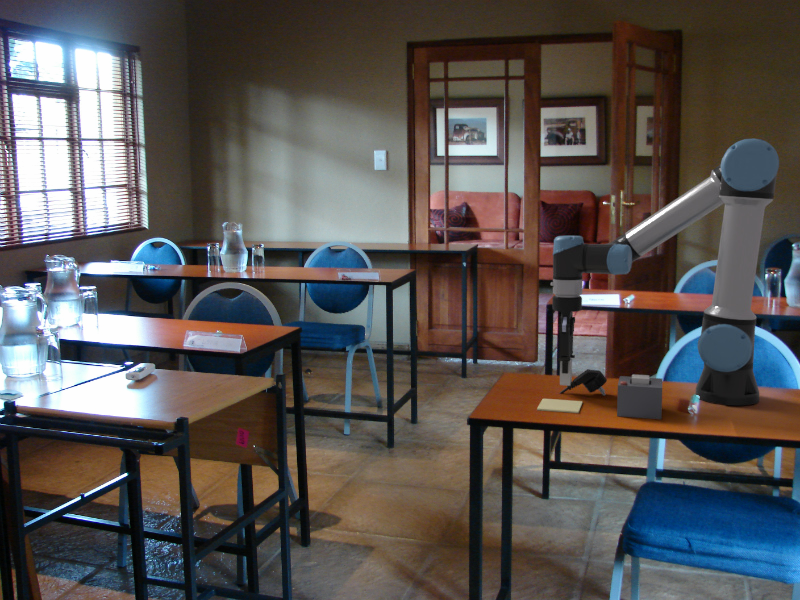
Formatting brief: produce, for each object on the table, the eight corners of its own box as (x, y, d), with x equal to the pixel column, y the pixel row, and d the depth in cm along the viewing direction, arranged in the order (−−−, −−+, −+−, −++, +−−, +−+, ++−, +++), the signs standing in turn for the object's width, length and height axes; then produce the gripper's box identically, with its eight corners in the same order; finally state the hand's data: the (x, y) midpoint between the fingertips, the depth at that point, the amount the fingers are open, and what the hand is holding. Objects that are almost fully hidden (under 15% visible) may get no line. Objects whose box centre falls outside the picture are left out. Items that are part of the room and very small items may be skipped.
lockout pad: (582, 402, 197) (582, 401, 197) (578, 413, 188) (578, 411, 188) (542, 400, 201) (542, 398, 201) (536, 410, 191) (536, 408, 191)
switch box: (661, 408, 191) (662, 376, 190) (661, 419, 182) (662, 385, 181) (619, 405, 195) (620, 373, 194) (617, 416, 185) (617, 382, 184)
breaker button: (648, 391, 189) (649, 375, 188) (648, 395, 185) (649, 379, 185) (631, 390, 190) (632, 374, 190) (631, 394, 186) (631, 378, 186)
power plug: (558, 388, 209) (594, 362, 205) (575, 409, 209) (612, 384, 206) (558, 394, 203) (595, 368, 200) (576, 416, 203) (614, 390, 200)
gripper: (556, 291, 210) (555, 376, 214) (548, 298, 196) (547, 389, 199) (584, 292, 208) (582, 378, 211) (579, 299, 194) (577, 391, 197)
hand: (565, 383), depth 205 cm, fingers closed on power plug, 2 cm apart
